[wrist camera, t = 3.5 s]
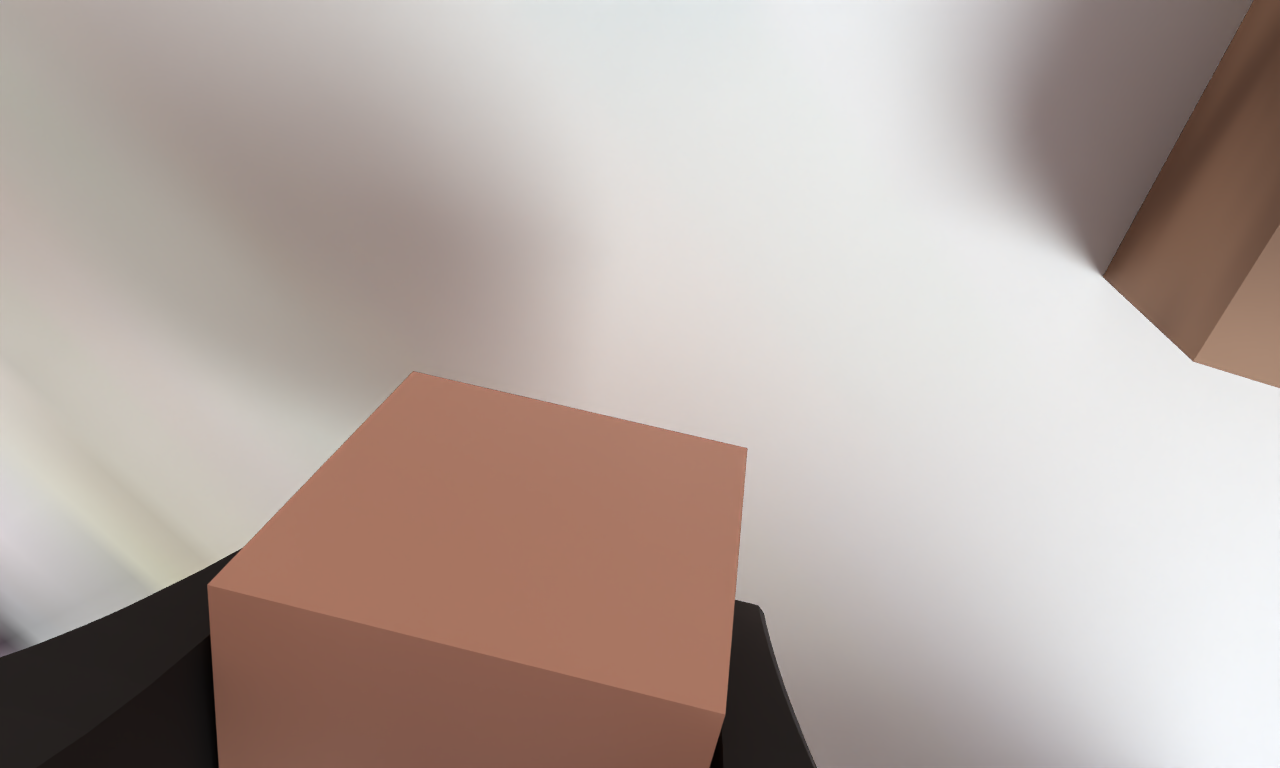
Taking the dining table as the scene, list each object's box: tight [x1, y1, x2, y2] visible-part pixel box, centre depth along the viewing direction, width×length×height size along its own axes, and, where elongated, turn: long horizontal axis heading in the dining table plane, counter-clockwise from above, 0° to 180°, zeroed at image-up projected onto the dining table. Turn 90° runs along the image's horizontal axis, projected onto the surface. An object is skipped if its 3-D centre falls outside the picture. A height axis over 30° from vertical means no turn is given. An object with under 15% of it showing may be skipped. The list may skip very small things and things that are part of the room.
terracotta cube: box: [207, 371, 747, 768], centre depth 11 cm, size 5×5×5 cm
